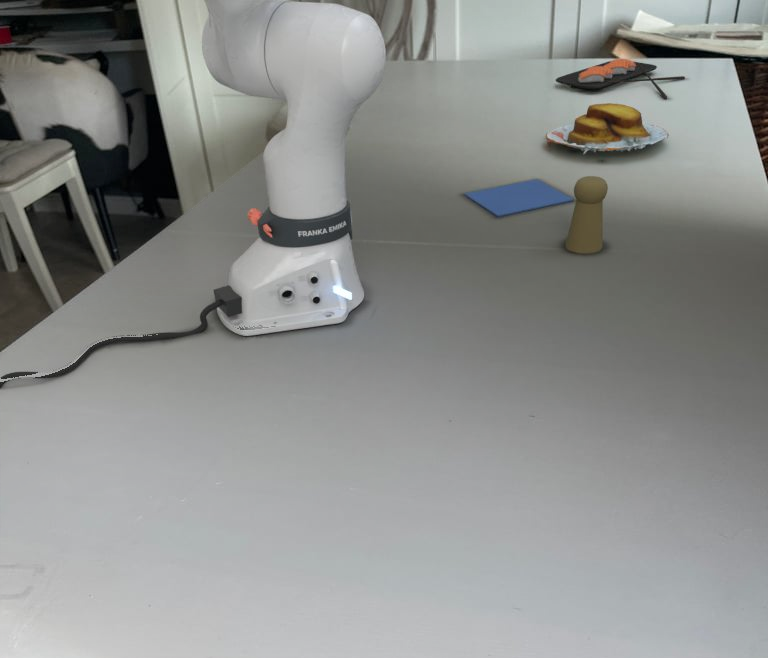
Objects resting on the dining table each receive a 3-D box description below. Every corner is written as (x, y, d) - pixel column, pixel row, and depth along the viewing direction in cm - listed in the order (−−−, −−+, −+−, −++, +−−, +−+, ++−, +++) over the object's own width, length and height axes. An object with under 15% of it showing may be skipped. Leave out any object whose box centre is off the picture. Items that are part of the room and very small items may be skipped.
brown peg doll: (602, 254, 131) (612, 185, 124) (564, 252, 132) (572, 184, 125) (602, 239, 136) (611, 172, 129) (566, 238, 137) (572, 171, 130)
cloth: (497, 217, 146) (497, 215, 146) (464, 195, 155) (464, 193, 155) (573, 200, 150) (573, 199, 150) (536, 180, 159) (536, 179, 159)
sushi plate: (615, 66, 227) (617, 51, 224) (712, 81, 210) (715, 65, 207) (550, 87, 213) (551, 71, 210) (648, 106, 195) (651, 88, 193)
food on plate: (531, 158, 170) (533, 124, 166) (562, 125, 187) (564, 94, 183) (655, 168, 161) (661, 133, 157) (675, 133, 178) (681, 100, 174)
